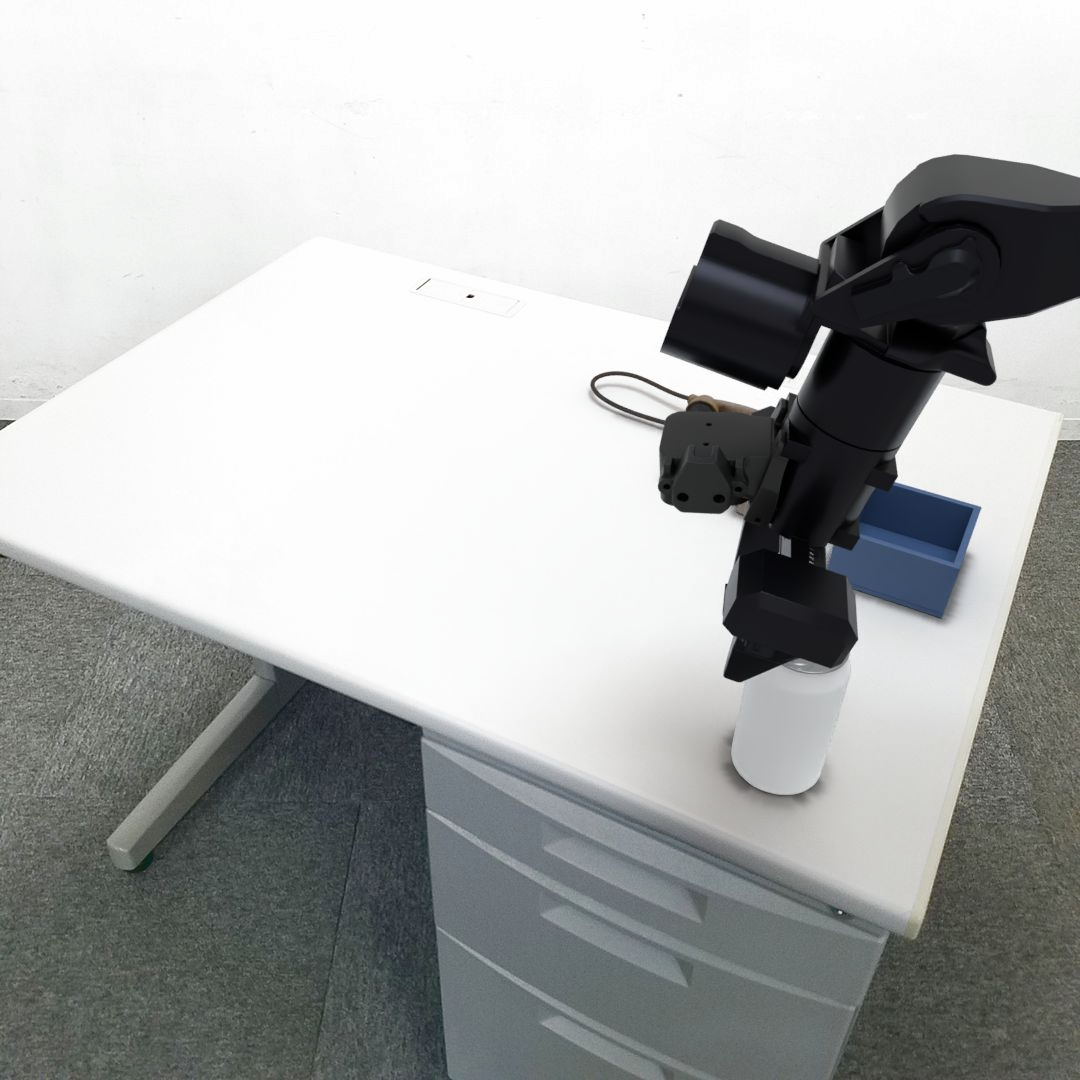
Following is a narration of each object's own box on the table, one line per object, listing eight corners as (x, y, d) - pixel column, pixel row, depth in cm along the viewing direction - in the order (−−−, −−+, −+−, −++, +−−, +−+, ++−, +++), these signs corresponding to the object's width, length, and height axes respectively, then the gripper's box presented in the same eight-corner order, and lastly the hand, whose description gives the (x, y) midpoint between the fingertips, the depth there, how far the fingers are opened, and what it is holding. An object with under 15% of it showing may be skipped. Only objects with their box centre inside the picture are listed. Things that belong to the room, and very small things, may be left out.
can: (717, 776, 68) (741, 655, 61) (746, 716, 73) (771, 596, 66) (807, 813, 66) (843, 691, 59) (830, 748, 71) (867, 628, 63)
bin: (941, 618, 82) (959, 568, 79) (824, 579, 86) (837, 530, 83) (964, 554, 89) (981, 506, 86) (854, 521, 93) (867, 473, 90)
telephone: (619, 371, 116) (621, 339, 113) (875, 475, 99) (884, 441, 96) (537, 424, 107) (537, 391, 105) (802, 548, 90) (810, 512, 88)
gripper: (712, 290, 56) (631, 494, 66) (681, 467, 41) (583, 693, 52) (894, 351, 56) (785, 546, 66) (926, 549, 41) (780, 760, 51)
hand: (735, 624), depth 59 cm, fingers open, 9 cm apart
